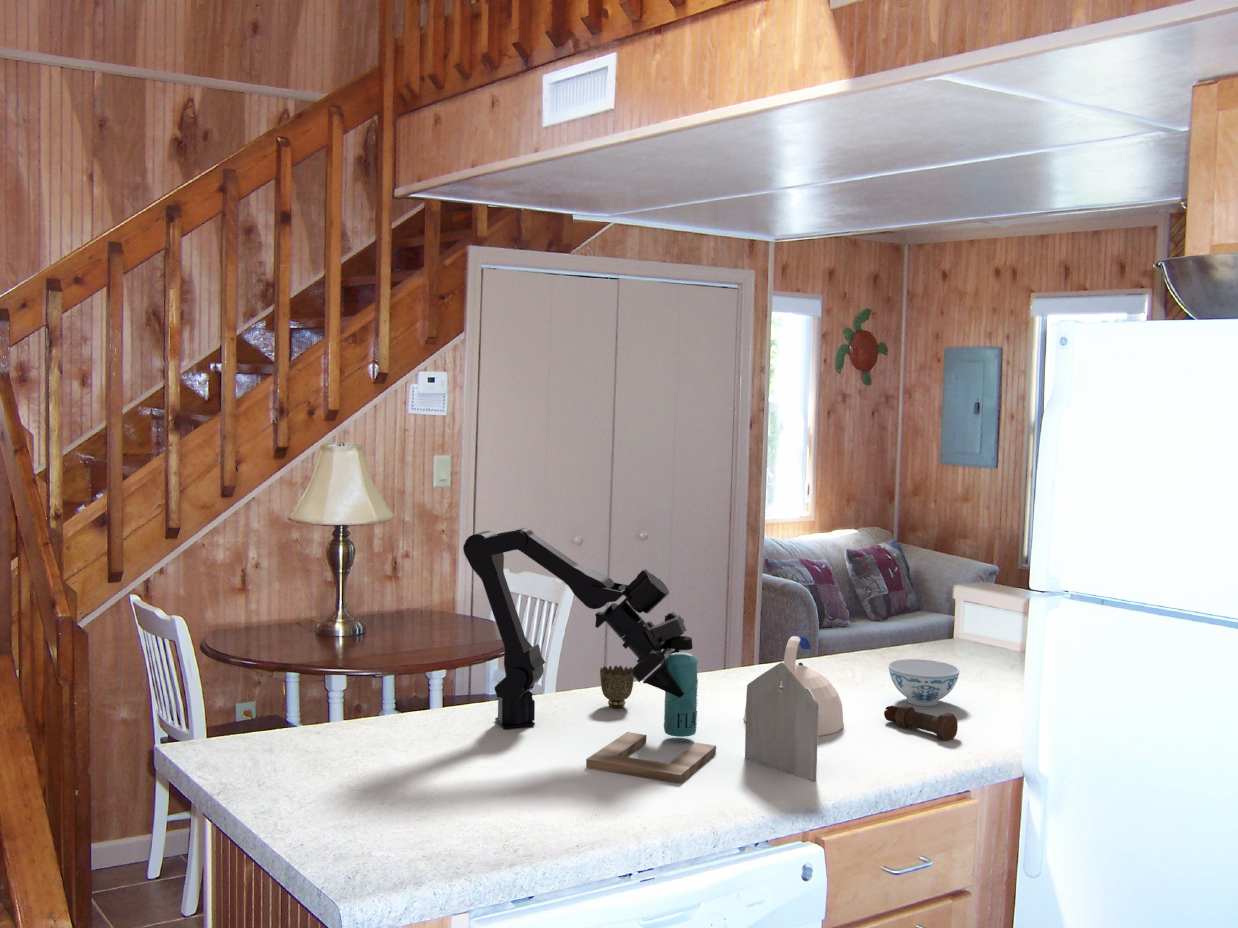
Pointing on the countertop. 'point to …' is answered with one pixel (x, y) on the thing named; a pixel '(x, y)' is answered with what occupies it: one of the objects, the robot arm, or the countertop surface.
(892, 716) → the bolt
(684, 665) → the beverage bottle
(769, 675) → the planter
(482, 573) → the robot arm
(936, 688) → the chinaware
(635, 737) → the notched board
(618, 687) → the cup
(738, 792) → the countertop surface
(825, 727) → the kettle
